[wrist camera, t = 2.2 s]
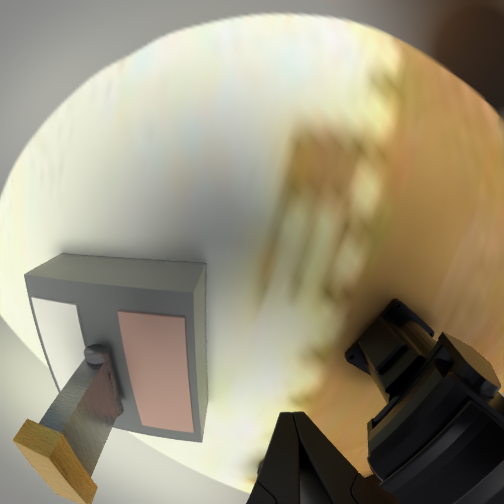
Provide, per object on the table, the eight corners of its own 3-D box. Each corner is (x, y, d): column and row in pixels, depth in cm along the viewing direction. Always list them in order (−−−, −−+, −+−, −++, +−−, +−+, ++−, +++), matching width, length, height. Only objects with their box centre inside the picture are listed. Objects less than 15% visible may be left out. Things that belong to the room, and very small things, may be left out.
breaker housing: (205, 263, 20) (192, 293, 15) (208, 400, 23) (201, 444, 18) (61, 253, 19) (22, 275, 14) (89, 381, 23) (67, 415, 18)
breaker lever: (116, 346, 15) (48, 458, 7) (130, 405, 17) (89, 507, 8) (86, 341, 15) (12, 440, 7) (103, 399, 17) (56, 493, 8)
